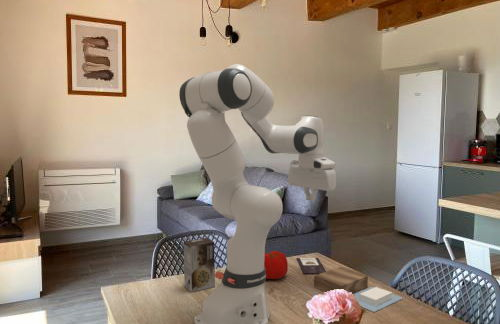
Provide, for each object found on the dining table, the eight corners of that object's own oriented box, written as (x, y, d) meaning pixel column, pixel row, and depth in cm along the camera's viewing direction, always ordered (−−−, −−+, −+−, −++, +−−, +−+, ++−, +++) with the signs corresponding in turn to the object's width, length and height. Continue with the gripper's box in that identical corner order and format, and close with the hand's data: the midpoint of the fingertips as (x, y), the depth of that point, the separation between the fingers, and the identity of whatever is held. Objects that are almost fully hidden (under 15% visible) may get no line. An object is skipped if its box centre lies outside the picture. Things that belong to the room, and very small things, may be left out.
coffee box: (207, 281, 151) (206, 237, 150) (215, 287, 146) (215, 241, 144) (183, 286, 146) (182, 241, 145) (191, 292, 141) (190, 245, 139)
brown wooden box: (341, 297, 137) (341, 285, 136) (314, 286, 146) (314, 275, 146) (367, 287, 146) (367, 276, 145) (339, 277, 155) (340, 266, 154)
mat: (374, 312, 126) (374, 311, 126) (342, 299, 135) (342, 298, 135) (403, 298, 136) (403, 297, 136) (371, 287, 145) (371, 286, 145)
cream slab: (359, 293, 134) (359, 299, 134) (375, 299, 130) (375, 306, 130) (376, 286, 140) (375, 292, 140) (392, 292, 135) (391, 298, 135)
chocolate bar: (303, 273, 158) (296, 257, 176) (303, 275, 158) (296, 260, 176) (327, 273, 158) (318, 257, 176) (327, 275, 158) (318, 260, 176)
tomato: (273, 269, 163) (273, 246, 162) (294, 278, 154) (294, 254, 153) (251, 275, 157) (251, 251, 156) (271, 285, 147) (271, 260, 146)
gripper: (284, 160, 155) (284, 197, 157) (327, 164, 139) (326, 205, 141) (296, 159, 159) (295, 195, 161) (339, 163, 143) (338, 203, 145)
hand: (310, 200), depth 151 cm, fingers closed
